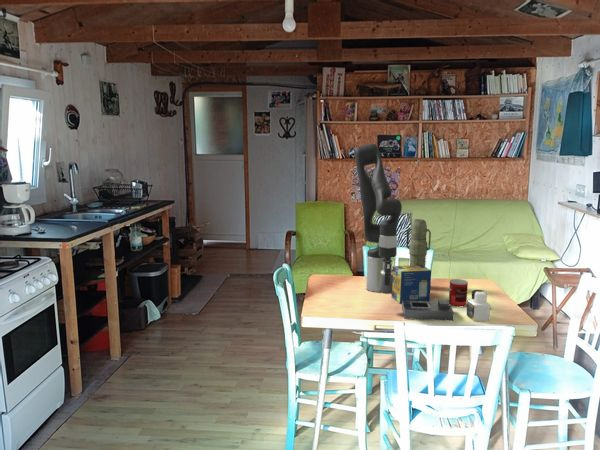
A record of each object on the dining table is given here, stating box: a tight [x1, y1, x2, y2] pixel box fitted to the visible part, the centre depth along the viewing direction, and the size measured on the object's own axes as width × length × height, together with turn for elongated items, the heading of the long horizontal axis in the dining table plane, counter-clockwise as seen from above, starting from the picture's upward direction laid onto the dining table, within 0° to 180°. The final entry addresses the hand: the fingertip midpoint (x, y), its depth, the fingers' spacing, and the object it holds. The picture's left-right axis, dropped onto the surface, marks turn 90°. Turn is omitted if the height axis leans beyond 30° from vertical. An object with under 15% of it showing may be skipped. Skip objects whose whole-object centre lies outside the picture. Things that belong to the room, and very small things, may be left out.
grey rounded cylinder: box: [380, 269, 393, 295], centre depth 224 cm, size 5×5×10 cm
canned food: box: [448, 278, 469, 307], centre depth 237 cm, size 8×8×11 cm
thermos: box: [406, 218, 432, 267], centre depth 263 cm, size 9×12×35 cm
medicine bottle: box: [466, 289, 491, 322], centre depth 218 cm, size 7×7×12 cm
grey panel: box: [401, 299, 454, 322], centre depth 222 cm, size 14×20×6 cm
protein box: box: [391, 264, 432, 305], centre depth 243 cm, size 10×15×16 cm
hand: (386, 283), depth 224 cm, fingers closed on grey rounded cylinder, 5 cm apart
